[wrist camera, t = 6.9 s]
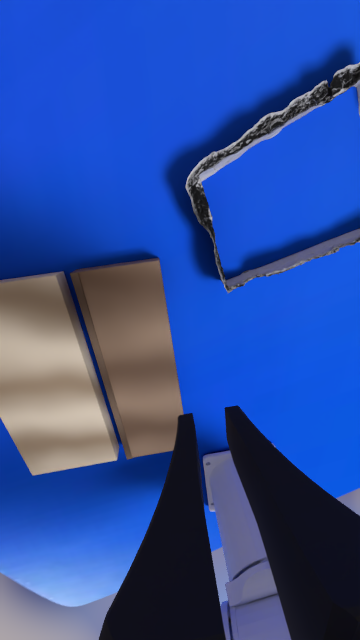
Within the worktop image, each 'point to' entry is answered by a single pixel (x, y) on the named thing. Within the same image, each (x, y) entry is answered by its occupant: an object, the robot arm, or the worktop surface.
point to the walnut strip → (133, 351)
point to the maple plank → (50, 378)
